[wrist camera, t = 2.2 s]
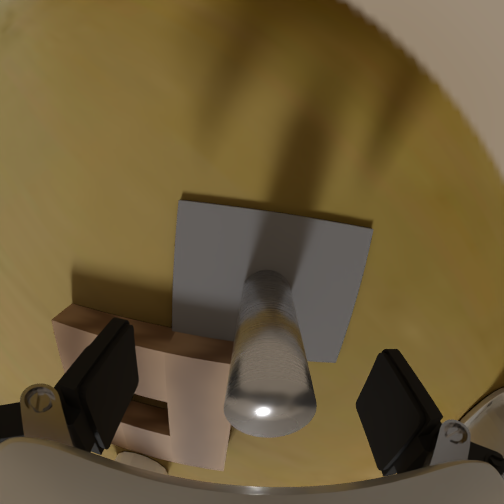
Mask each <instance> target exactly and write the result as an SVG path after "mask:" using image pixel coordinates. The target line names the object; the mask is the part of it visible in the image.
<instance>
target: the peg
mask: <svg viewBox="0 0 504 504" xmlns="http://www.w3.org/2000/svg"><path fill="white" fill-rule="evenodd" d="M316 407H317V406H316V399H315V394H314V390H313V385H312V381H311V376H310V371H309V367H308V363H307V358H306V354H305V349H304V345H303V341H302V336H301V332H300V328H299V323H298V319H297V315H296V311H295V307H294V303H293V298H292V294H291V290H290V286H289V283H288V281H287V280H286V279H285V277H284V276H282V275H281V274H280V273H278V272H275V271H272V270H261V271H258V272H255V273H253V274H252V275H251V276H249V277H248V278H247V280H246V281H245V283H244V286H243V290H242V296H241V302H240V308H239V315H238V321H237V327H236V333H235V339H234V345H233V352H232V358H231V364H230V370H229V376H228V383H227V389H226V395H225V401H224V414H225V417H226V419H227V420H228V422H229V423H230V424H231V425H232V426H233V427H235V428H236V429H237V430H239V431H241V432H243V433H246V434H249V435H252V436H257V437H280V436H285V435H288V434H291V433H294V432H296V431H298V430H300V429H301V428H303V427H304V426H306V425H307V424H308V423H309V422H310V421H311V420H312V418H313V417H314V415H315V412H316Z"/></svg>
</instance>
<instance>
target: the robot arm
mask: <svg viewBox="0 0 504 504" xmlns="http://www.w3.org/2000/svg"><path fill="white" fill-rule="evenodd" d="M138 383H139V375H138V367H137V359H136V349H135V338H134V327H133V325H130V323H129V321H128V320H125V319H121V318H116V317H114V318H112V319H111V321H110V322H109V323H108V324H107V325H106V326H105V327H104V329H103V330H102V331H101V332H100V333H99V335H98V336H97V337H96V338H95V339H94V341H93V342H92V343H91V344H90V345H89V346H87V347H86V348H85V349H84V350H83V352H82V353H81V354H80V355H79V357H78V358H77V359H76V360H75V361H74V363H73V364H72V365H71V366H70V368H69V369H68V370H67V371H66V373H65V374H64V375H63V376H62V378H61V379H60V380H59V382H58V383H57V384H56V385H55V387H54V388H53V387H51V386H50V385H46V384H34V385H31V386H29V387H28V388H26V389H25V390H24V391H23V393H22V395H21V397H20V402H18V403H12V404H6V405H0V504H504V388H501V389H499V390H497V391H495V392H493V393H492V394H490V395H489V396H487V397H486V398H485V399H483V400H482V401H481V402H480V403H478V404H477V405H476V406H475V407H474V408H473V409H472V410H471V411H469V412H468V413H467V414H466V415H465V416H464V417H463V418H462V419H461V420H460V422H459V421H457V420H447V421H445V422H444V423H443V424H442V423H441V422H440V420H441V419H442V418H443V416H442V414H441V412H440V411H439V409H438V408H437V406H436V405H435V403H434V401H433V400H432V398H431V397H430V395H429V394H428V392H427V391H426V389H425V388H424V386H423V385H422V383H421V382H420V380H419V379H418V377H417V376H416V374H415V373H414V371H413V370H412V368H411V367H410V366H409V364H408V363H407V361H406V360H405V358H404V357H403V355H402V354H401V353H400V351H399V350H398V349H384V350H383V351H382V353H379V354H378V356H377V358H376V361H375V363H374V365H373V368H372V370H371V372H370V374H369V376H368V378H367V381H366V383H365V385H364V387H363V389H362V391H361V393H360V395H359V397H358V399H357V402H356V409H357V412H358V414H359V417H360V420H361V422H362V425H363V428H364V431H365V433H366V436H367V439H368V442H369V445H370V447H371V450H372V453H373V456H374V459H375V462H376V465H377V468H378V469H379V470H381V471H382V474H383V477H381V478H376V479H371V480H365V481H358V482H352V483H344V484H335V485H324V486H310V487H251V486H237V485H226V484H217V483H209V482H202V481H196V480H190V479H184V478H179V477H174V476H169V475H165V474H160V473H156V472H152V471H148V470H145V469H141V468H137V467H133V466H130V465H126V464H123V463H120V462H117V461H113V460H110V459H107V458H105V457H102V456H99V455H96V454H93V453H90V452H91V451H92V452H94V453H97V454H100V455H101V454H102V452H103V450H104V449H108V448H109V447H110V445H111V442H112V440H113V438H114V436H115V433H116V431H117V429H118V427H119V425H120V423H121V420H122V418H123V416H124V414H125V412H126V410H127V408H128V405H129V403H130V401H131V399H132V397H133V395H134V393H135V391H136V389H137V386H138ZM396 473H397V474H396ZM393 474H395V475H393ZM389 475H391V476H389ZM384 476H386V477H384Z"/></svg>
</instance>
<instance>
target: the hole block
mask: <svg viewBox="0 0 504 504" xmlns="http://www.w3.org/2000/svg"><path fill="white" fill-rule="evenodd" d="M114 317H116V318H121V319H125V320H128V321H129V323H130V325H133V327H134V338H135V349H136V359H137V367H138V375H139V383H138V386H137V389H136V391H135V393H134V394H137V395H140V396H144V397H148V398H152V399H156V400H160V401H164V402H167V406H168V410H166V409H162V408H158V407H154V406H150V405H147V404H143V403H139V402H136V401H132V399H131V401H130V403H129V405H128V408H127V410H126V412H125V414H124V416H123V418H122V420H121V423H120V425H119V427H118V429H117V431H116V433H115V436H114V438H113V440H112V442H111V444H114V445H116V446H119V447H122V448H125V449H128V450H131V451H135V452H138V453H141V454H145V455H148V456H152V457H155V458H159V459H163V460H167V461H171V462H176V463H180V464H185V465H190V466H195V467H201V468H206V469H213V470H220V471H224V465H225V459H226V453H227V446H228V440H229V434H230V427H231V424H230V423H229V422H228V420H227V419H226V417H225V414H224V401H225V395H226V389H227V383H228V376H229V370H230V364H231V358H232V352H233V345H234V341H227V340H221V339H214V338H208V337H202V336H196V335H191V334H185V333H180V332H175V331H172V328H170V327H165V326H161V325H156V324H151V323H147V322H142V321H138V320H133V319H129V318H125V317H121V316H117V315H113V314H109V313H105V312H101V311H97V310H93V309H90V308H86V307H83V306H79V305H76V304H71V305H70V306H68V307H67V308H66V309H64V310H63V311H62V312H61V313H59V314H58V315H57V316H56V317H54V318H53V319H52V324H53V329H54V334H55V338H56V342H57V346H58V350H59V354H60V358H61V362H62V365H63V369H64V372H65V373H66V371H67V370H68V369H69V368H70V366H71V365H72V364H73V363H74V361H75V360H76V359H77V358H78V357H79V355H80V354H81V353H82V352H83V350H84V349H85V348H86V347H87V346H89V345H90V344H91V343H92V342H93V341H94V339H95V338H96V337H97V336H98V335H99V333H100V332H101V331H102V330H103V329H104V327H105V326H106V325H107V324H108V323H109V322H110V321H111V319H112V318H114Z"/></svg>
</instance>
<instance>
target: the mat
mask: <svg viewBox="0 0 504 504" xmlns="http://www.w3.org/2000/svg"><path fill="white" fill-rule="evenodd" d="M372 233H373V229H371V228H367V227H362V226H356V225H351V224H345V223H340V222H334V221H328V220H322V219H316V218H310V217H304V216H298V215H291V214H285V213H278V212H272V211H265V210H258V209H251V208H244V207H236V206H229V205H221V204H213V203H205V202H196V201H188V200H179V203H178V214H177V226H176V239H175V254H174V273H173V300H172V331H175V332H180V333H185V334H191V335H196V336H202V337H208V338H214V339H221V340H227V341H234V339H235V333H236V327H237V321H238V315H239V308H240V302H241V296H242V290H243V286H244V283H245V281H246V280H247V278H248V277H249V276H251V275H252V274H253V273H255V272H258V271H261V270H272V271H275V272H278V273H280V274H281V275H282V276H284V277H285V279H286V280H287V281H288V283H289V286H290V290H291V294H292V298H293V303H294V307H295V311H296V315H297V319H298V323H299V328H300V332H301V336H302V341H303V345H304V349H305V354H306V358H307V361H315V362H333V363H336V360H337V357H338V355H339V352H340V349H341V346H342V343H343V340H344V337H345V334H346V331H347V328H348V325H349V321H350V318H351V315H352V312H353V308H354V305H355V301H356V298H357V294H358V291H359V287H360V283H361V280H362V276H363V272H364V268H365V264H366V260H367V256H368V251H369V247H370V243H371V238H372Z"/></svg>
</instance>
